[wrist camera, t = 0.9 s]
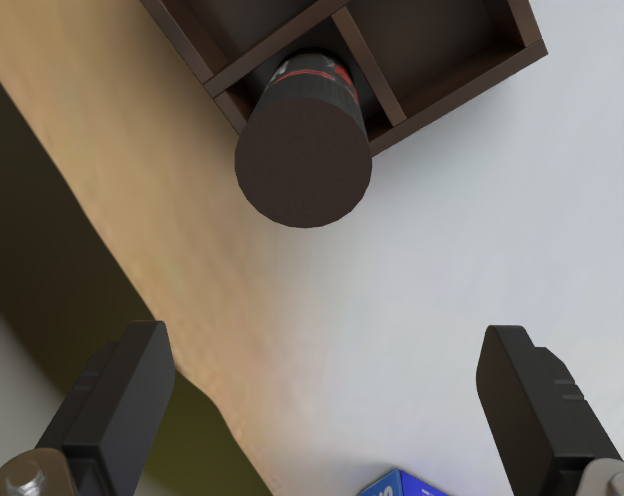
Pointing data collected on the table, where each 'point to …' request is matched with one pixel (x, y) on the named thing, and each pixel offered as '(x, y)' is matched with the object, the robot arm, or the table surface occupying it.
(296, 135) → the deodorant
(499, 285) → the table surface
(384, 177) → the table surface
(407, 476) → the toner cartridge
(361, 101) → the rack
